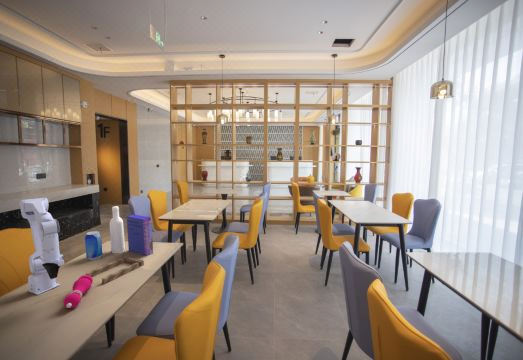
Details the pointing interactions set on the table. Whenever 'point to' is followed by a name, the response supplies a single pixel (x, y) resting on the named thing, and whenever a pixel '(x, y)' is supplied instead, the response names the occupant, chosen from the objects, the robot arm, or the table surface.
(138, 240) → the cereal box
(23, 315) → the table surface
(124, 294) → the table surface
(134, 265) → the u rest
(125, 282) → the table surface
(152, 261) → the table surface
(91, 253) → the beer can
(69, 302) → the pepper mill
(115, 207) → the bottle
